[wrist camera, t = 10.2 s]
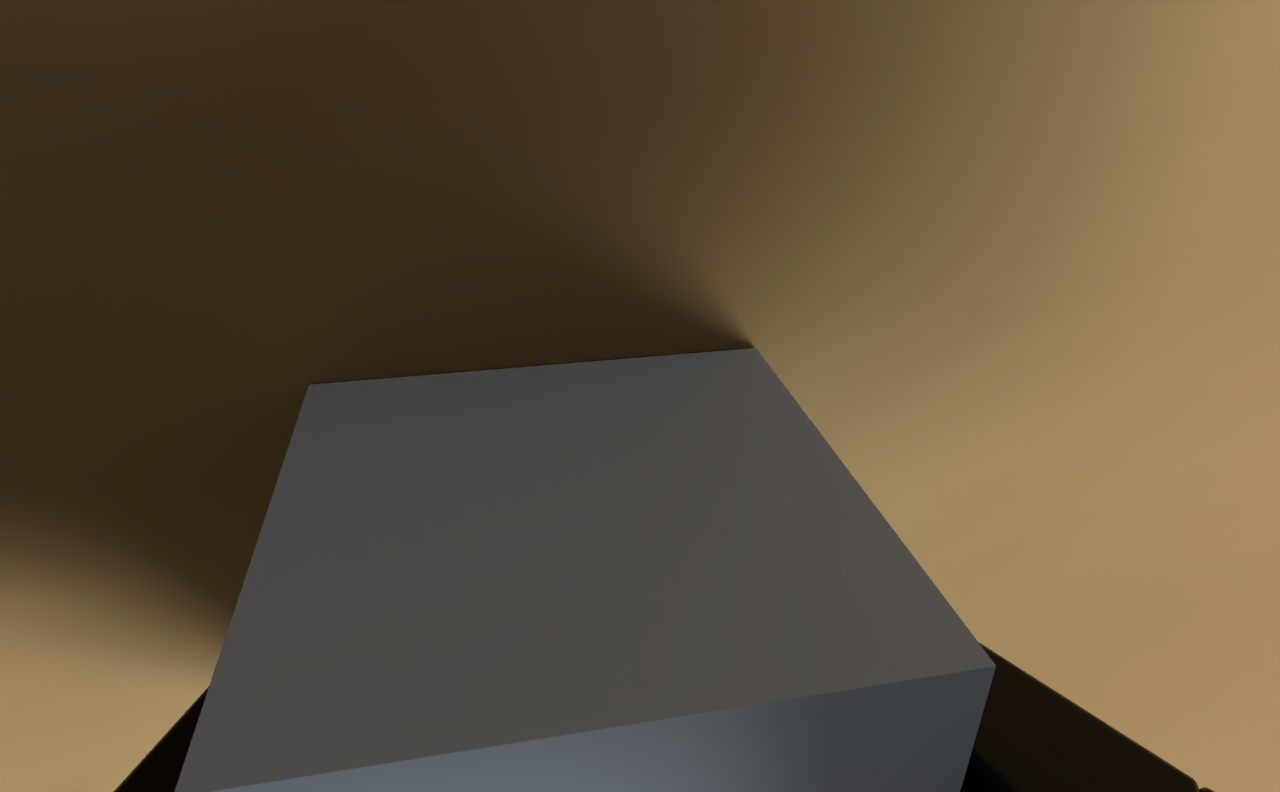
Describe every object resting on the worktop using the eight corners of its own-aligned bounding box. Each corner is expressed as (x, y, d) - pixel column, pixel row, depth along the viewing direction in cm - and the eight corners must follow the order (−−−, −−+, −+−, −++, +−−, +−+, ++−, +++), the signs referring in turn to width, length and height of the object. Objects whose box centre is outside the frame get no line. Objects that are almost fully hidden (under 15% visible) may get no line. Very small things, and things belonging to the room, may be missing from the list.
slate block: (756, 348, 8) (994, 666, 4) (731, 658, 10) (885, 1051, 6) (309, 384, 7) (171, 798, 4) (377, 712, 9) (329, 1185, 6)
